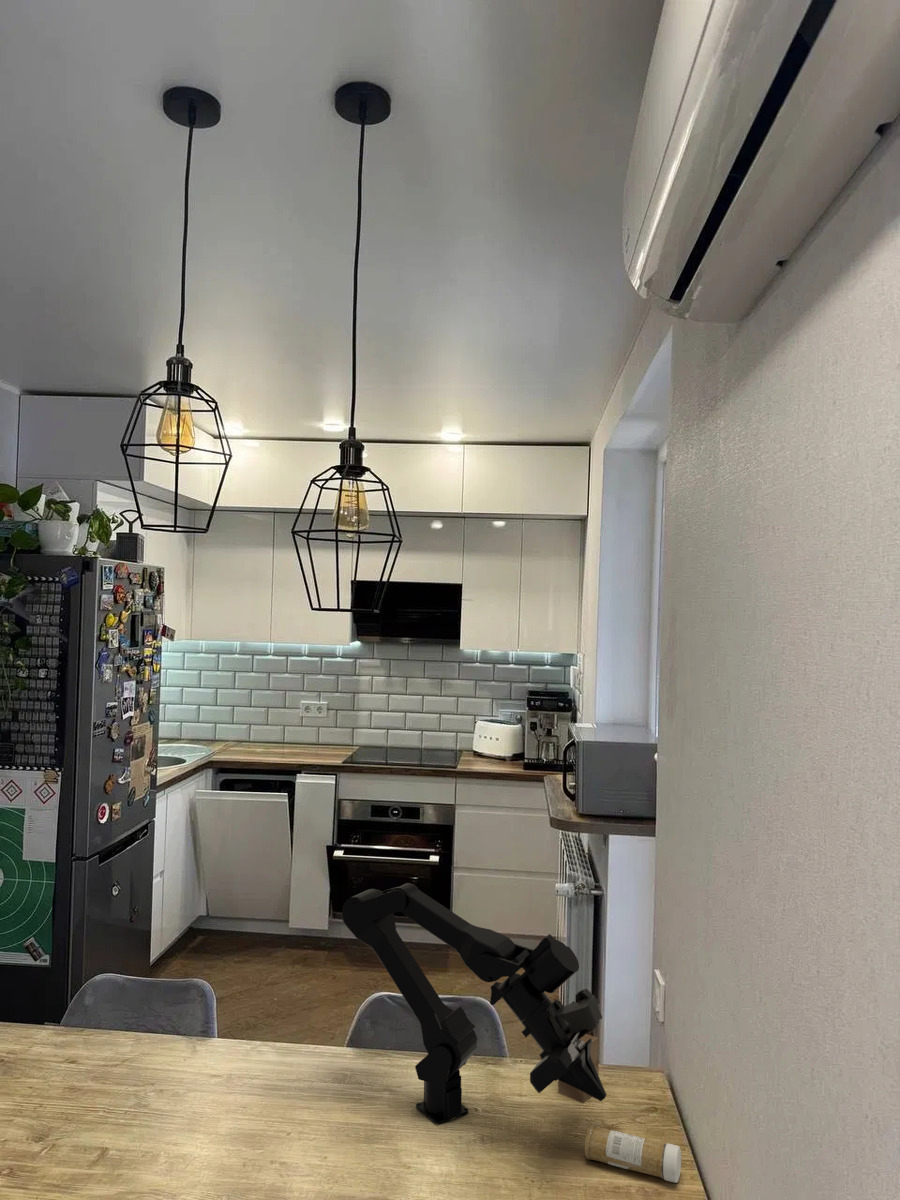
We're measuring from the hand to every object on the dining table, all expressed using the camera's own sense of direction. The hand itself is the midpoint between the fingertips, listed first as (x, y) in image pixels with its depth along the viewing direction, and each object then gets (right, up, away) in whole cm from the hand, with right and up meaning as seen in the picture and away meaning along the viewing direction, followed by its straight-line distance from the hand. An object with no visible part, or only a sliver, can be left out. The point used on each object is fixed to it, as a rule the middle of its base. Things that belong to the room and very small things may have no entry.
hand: (603, 1098), depth 128 cm
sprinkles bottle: (-3, -6, -1) cm, 7 cm away
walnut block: (-1, -10, +18) cm, 20 cm away
